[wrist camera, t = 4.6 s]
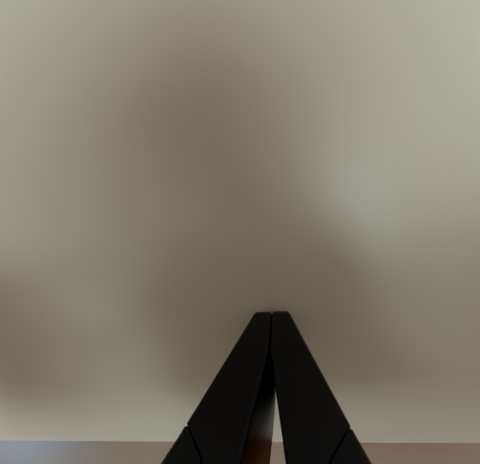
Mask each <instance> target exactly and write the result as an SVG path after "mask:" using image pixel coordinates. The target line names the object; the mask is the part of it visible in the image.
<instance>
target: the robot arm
mask: <svg viewBox="0 0 480 464" xmlns="http://www.w3.org/2000/svg"><path fill="white" fill-rule="evenodd" d="M276 397H277V405H278V412H279V419H280V426H281V433H282V440H283V447H284V454H285V461H286V464H372V463H371V462H370V460H369V458H368V457H367V455H366V453H365V451H364V449H363V448H362V446H361V444H360V442H359V440H358V439H357V437H356V435H355V433H354V431H353V430H352V429H350V428H351V427H350V424H349V422H348V420H347V418H346V417H345V415H344V413H343V411H342V409H341V407H340V405H339V404H338V402H337V400H336V398H335V396H334V394H333V392H332V391H331V389H330V387H329V385H328V383H327V381H326V379H325V378H324V376H323V374H322V372H321V370H320V368H319V366H318V365H317V363H316V361H315V359H314V357H313V355H312V353H311V352H310V350H309V348H308V346H307V344H306V342H305V340H304V339H303V337H302V335H301V333H300V331H299V329H298V327H297V326H296V324H295V322H294V320H293V318H292V316H291V315H290V313H289V312H288V311H275V312H273V314H271V312H256V313H255V314H254V315H253V317H252V318H251V320H250V321H249V323H248V325H247V326H246V328H245V330H244V331H243V333H242V334H241V336H240V338H239V339H238V341H237V343H236V344H235V346H234V347H233V349H232V351H231V352H230V354H229V356H228V357H227V359H226V360H225V362H224V364H223V365H222V367H221V369H220V370H219V372H218V373H217V375H216V377H215V378H214V380H213V382H212V383H211V385H210V386H209V388H208V390H207V391H206V393H205V395H204V396H203V398H202V399H201V401H200V403H199V404H198V406H197V408H196V409H195V411H194V412H193V414H192V416H191V417H190V419H189V421H188V422H187V426H185V427H184V428H183V430H182V432H181V433H180V435H179V436H178V438H177V440H176V441H175V443H174V445H173V446H172V448H171V449H170V451H169V452H168V454H167V455H166V457H165V458H164V460H163V461H162V463H161V464H270V456H271V446H272V436H273V425H274V415H275V403H276Z"/></svg>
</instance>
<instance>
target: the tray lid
mask: <svg viewBox="0 0 480 464" xmlns="http://www.w3.org/2000/svg"><path fill="white" fill-rule="evenodd" d="M275 311H288V312H289V313H290V315H291V316H292V318H293V320H294V322H295V324H296V326H297V327H298V329H299V331H300V333H301V335H302V337H303V339H304V340H305V342H306V344H307V346H308V348H309V350H310V352H311V353H312V355H313V357H314V359H315V361H316V363H317V365H318V366H319V368H320V370H321V372H322V374H323V376H324V378H325V379H326V381H327V383H328V385H329V387H330V389H331V391H332V392H333V394H334V396H335V398H336V400H337V402H338V404H339V405H340V407H341V409H342V411H343V413H344V415H345V417H346V418H347V420H348V422H349V424H350V427H351V428H350V429H352V430H353V431H354V433H355V435H356V437H357V439H358V440H359V442H384V443H385V442H387V443H480V0H0V440H7V441H8V440H9V441H10V440H13V441H14V440H15V441H176V440H177V438H178V436H179V435H180V433H181V432H182V430H183V428H184V427H185V426H187V422H188V421H189V419H190V417H191V416H192V414H193V412H194V411H195V409H196V408H197V406H198V404H199V403H200V401H201V399H202V398H203V396H204V395H205V393H206V391H207V390H208V388H209V386H210V385H211V383H212V382H213V380H214V378H215V377H216V375H217V373H218V372H219V370H220V369H221V367H222V365H223V364H224V362H225V360H226V359H227V357H228V356H229V354H230V352H231V351H232V349H233V347H234V346H235V344H236V343H237V341H238V339H239V338H240V336H241V334H242V333H243V331H244V330H245V328H246V326H247V325H248V323H249V321H250V320H251V318H252V317H253V315H254V314H255V313H256V312H271V314H273V312H275ZM272 442H283V440H282V433H281V426H280V419H279V412H278V405H277V397H276V403H275V415H274V425H273V436H272Z"/></svg>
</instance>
